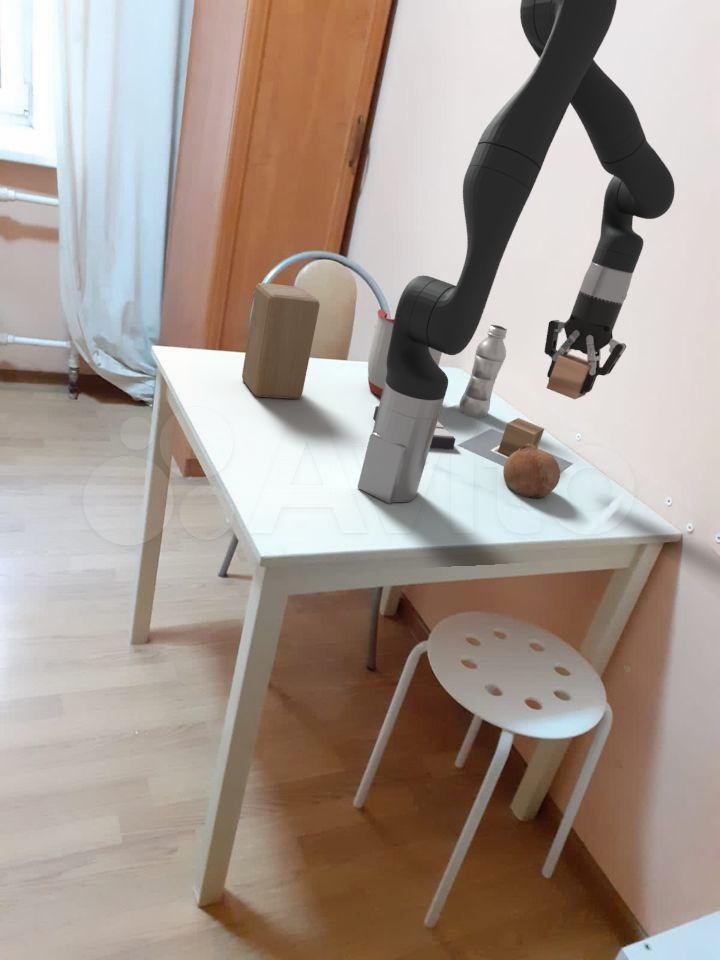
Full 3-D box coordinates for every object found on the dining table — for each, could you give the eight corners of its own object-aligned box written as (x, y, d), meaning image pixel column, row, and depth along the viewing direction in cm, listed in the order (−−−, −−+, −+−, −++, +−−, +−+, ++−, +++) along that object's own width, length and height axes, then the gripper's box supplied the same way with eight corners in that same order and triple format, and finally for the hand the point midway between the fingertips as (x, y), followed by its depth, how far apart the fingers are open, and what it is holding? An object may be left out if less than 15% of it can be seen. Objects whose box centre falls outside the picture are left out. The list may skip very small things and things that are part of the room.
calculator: (426, 407, 145) (457, 435, 132) (421, 426, 146) (451, 456, 134) (375, 402, 141) (403, 430, 128) (371, 422, 142) (398, 453, 130)
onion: (499, 500, 128) (495, 444, 127) (551, 495, 128) (547, 439, 127) (514, 507, 118) (510, 447, 117) (569, 502, 119) (566, 441, 118)
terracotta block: (574, 399, 126) (587, 367, 123) (546, 388, 128) (557, 356, 125) (585, 395, 130) (597, 363, 127) (557, 384, 132) (568, 353, 130)
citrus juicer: (392, 377, 169) (413, 293, 160) (443, 406, 158) (469, 318, 149) (341, 379, 159) (360, 289, 150) (391, 411, 148) (415, 316, 139)
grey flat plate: (542, 490, 128) (544, 483, 128) (455, 450, 136) (457, 444, 135) (570, 468, 141) (573, 462, 140) (490, 433, 149) (491, 428, 148)
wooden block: (239, 379, 145) (255, 280, 136) (286, 381, 149) (303, 286, 141) (254, 398, 137) (271, 295, 128) (302, 400, 142) (322, 301, 133)
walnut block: (523, 463, 135) (533, 434, 132) (497, 451, 137) (507, 423, 134) (534, 456, 139) (544, 428, 136) (508, 445, 141) (518, 417, 139)
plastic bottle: (452, 415, 154) (479, 324, 145) (462, 408, 160) (489, 320, 151) (479, 425, 152) (508, 334, 143) (489, 418, 157) (517, 330, 149)
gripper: (555, 282, 122) (523, 375, 129) (636, 308, 115) (598, 405, 122) (570, 281, 128) (539, 371, 135) (648, 306, 121) (611, 399, 128)
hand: (567, 387), depth 129 cm, fingers closed on terracotta block, 5 cm apart
